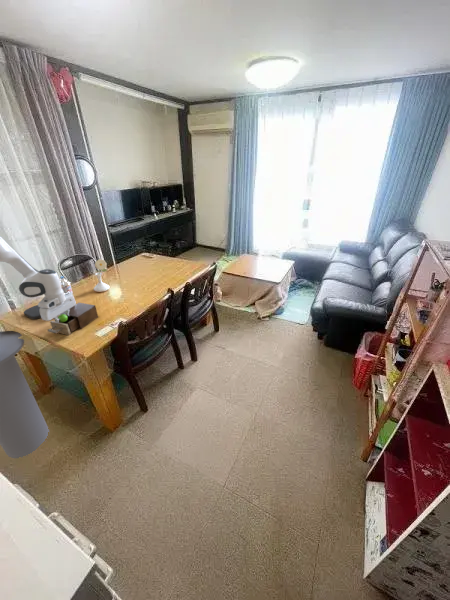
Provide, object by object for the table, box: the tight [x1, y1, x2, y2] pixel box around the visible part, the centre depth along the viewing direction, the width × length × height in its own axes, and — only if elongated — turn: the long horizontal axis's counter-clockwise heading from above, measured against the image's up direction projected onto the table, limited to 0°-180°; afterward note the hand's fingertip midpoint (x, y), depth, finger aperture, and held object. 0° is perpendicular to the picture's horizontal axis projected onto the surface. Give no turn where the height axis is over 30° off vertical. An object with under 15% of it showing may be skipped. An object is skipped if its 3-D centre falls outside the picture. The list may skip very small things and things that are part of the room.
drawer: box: [47, 316, 79, 336], centre depth 149 cm, size 18×11×7 cm, turn 164°
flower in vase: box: [93, 258, 110, 293], centre depth 194 cm, size 13×11×25 cm
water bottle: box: [59, 275, 76, 300], centre depth 165 cm, size 7×7×25 cm
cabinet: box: [60, 302, 99, 330], centre depth 158 cm, size 15×13×9 cm
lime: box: [57, 314, 68, 322], centre depth 146 cm, size 5×5×5 cm
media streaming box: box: [23, 304, 42, 320], centre depth 167 cm, size 15×15×3 cm
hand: (62, 319), depth 146 cm, fingers closed on lime, 5 cm apart
